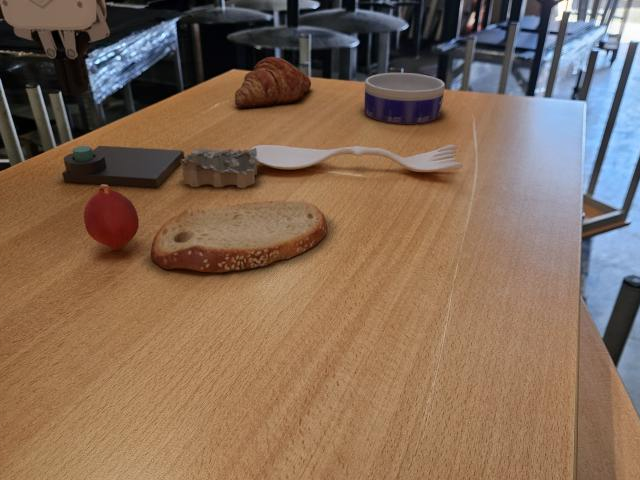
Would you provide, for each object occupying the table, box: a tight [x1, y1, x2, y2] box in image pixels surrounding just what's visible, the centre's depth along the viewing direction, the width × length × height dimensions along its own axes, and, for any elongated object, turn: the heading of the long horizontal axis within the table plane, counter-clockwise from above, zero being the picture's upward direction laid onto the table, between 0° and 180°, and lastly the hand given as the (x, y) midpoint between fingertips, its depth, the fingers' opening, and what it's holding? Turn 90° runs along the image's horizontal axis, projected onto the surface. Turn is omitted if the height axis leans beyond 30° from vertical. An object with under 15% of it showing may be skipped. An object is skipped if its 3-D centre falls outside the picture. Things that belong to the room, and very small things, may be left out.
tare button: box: [72, 145, 94, 161], centre depth 83 cm, size 3×3×2 cm
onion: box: [83, 184, 140, 251], centre depth 65 cm, size 6×6×8 cm
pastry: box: [234, 56, 312, 109], centre depth 119 cm, size 17×15×8 cm
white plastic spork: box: [250, 144, 464, 173], centre depth 88 cm, size 9×32×4 cm, turn 86°
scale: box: [61, 145, 185, 189], centre depth 86 cm, size 14×12×3 cm
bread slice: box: [150, 199, 328, 274], centre depth 68 cm, size 18×18×4 cm
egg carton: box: [180, 147, 258, 189], centre depth 84 cm, size 11×8×4 cm
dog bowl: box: [364, 72, 446, 125], centre depth 112 cm, size 15×15×6 cm
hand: (76, 92), depth 68 cm, fingers closed
